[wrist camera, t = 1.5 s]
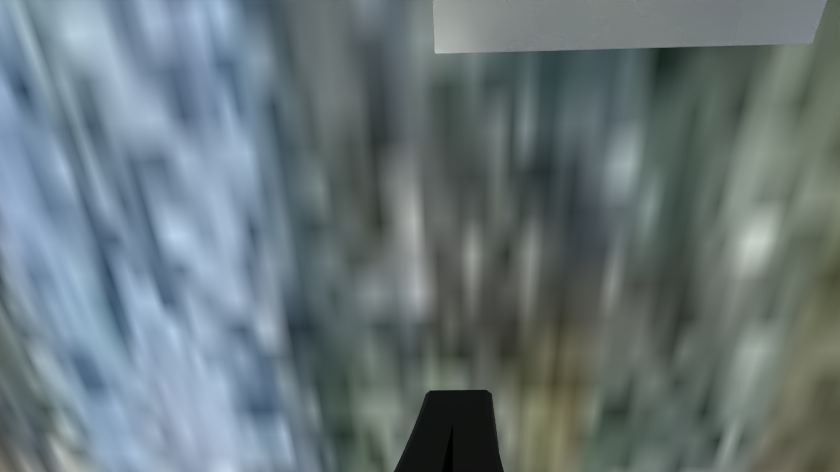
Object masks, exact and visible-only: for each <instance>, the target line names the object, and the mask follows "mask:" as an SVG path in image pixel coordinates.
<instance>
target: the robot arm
mask: <svg viewBox="0 0 840 472" xmlns="http://www.w3.org/2000/svg"><path fill="white" fill-rule="evenodd" d="M394 472H504V471H503V467H502V463H501V459H500V455H499V448H498V439H497V431H496V424H495V416H494V409H493V401H492V394H491V393H490V392H488V391H487V390H438V391H429V392H428V393H427V394H426V396H425V399H424V402H423V405H422V408H421V410H420V413H419V416H418V418H417V421H416V424H415V426H414V429H413V431H412V433H411V436H410V438H409V440H408V443H407V445H406V447H405V450H404V452H403V454H402V456H401V458H400V460H399V462H398V464H397V467H396V469H395V471H394Z"/></svg>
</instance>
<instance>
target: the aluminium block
mask: <svg viewBox="0 0 840 472" xmlns="http://www.w3.org/2000/svg"><path fill="white" fill-rule="evenodd" d="M826 2H827V0H433V16H434V41H435V54H437V53H475V52H513V51H550V50H588V49H626V48H663V47H701V46H739V45H776V44H812V43H813V40H814V37H815V34H816V31H817V28H818V25H819V22H820V20H821V17H822V14H823V11H824V8H825V5H826Z"/></svg>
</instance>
